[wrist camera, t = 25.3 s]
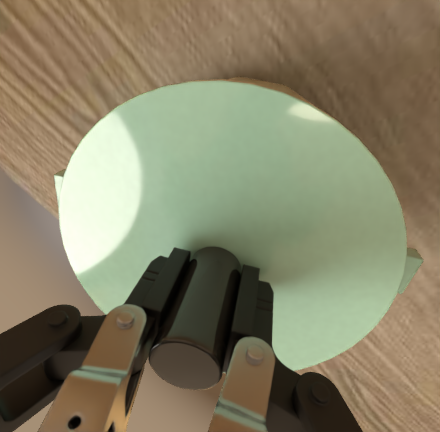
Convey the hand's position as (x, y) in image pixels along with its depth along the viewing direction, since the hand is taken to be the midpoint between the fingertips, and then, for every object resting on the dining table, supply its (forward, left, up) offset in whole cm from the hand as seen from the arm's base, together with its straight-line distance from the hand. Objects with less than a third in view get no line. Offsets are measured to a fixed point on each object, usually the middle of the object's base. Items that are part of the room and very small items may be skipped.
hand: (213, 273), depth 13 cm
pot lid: (0, 0, -1) cm, 1 cm away
